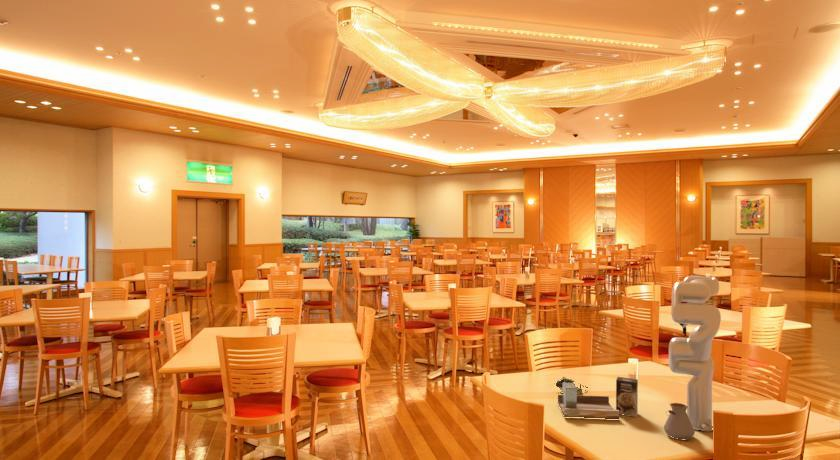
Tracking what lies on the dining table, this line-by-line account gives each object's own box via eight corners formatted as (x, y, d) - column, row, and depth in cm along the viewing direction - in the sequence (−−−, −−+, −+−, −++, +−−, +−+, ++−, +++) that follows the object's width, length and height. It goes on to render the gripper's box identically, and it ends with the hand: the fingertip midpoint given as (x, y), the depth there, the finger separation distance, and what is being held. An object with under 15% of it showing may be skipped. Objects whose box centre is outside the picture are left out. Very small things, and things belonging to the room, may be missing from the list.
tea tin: (577, 410, 230) (576, 388, 230) (565, 410, 230) (565, 387, 230) (573, 404, 238) (573, 382, 238) (562, 404, 239) (562, 382, 239)
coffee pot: (667, 428, 214) (667, 393, 214) (697, 435, 206) (697, 399, 206) (653, 445, 198) (652, 407, 198) (684, 453, 190) (684, 414, 190)
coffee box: (615, 414, 230) (615, 379, 230) (617, 410, 236) (617, 376, 236) (637, 417, 226) (636, 382, 226) (638, 413, 232) (637, 378, 232)
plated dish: (589, 406, 243) (588, 391, 243) (534, 396, 259) (534, 382, 259) (606, 387, 272) (606, 374, 272) (556, 380, 288) (556, 367, 288)
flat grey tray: (619, 420, 222) (619, 409, 222) (564, 419, 225) (564, 408, 225) (608, 406, 241) (608, 396, 241) (557, 404, 243) (557, 394, 243)
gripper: (676, 300, 239) (676, 336, 239) (718, 303, 232) (718, 339, 232) (676, 299, 246) (676, 333, 246) (716, 301, 239) (716, 336, 238)
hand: (696, 336), depth 239 cm, fingers open, 9 cm apart
